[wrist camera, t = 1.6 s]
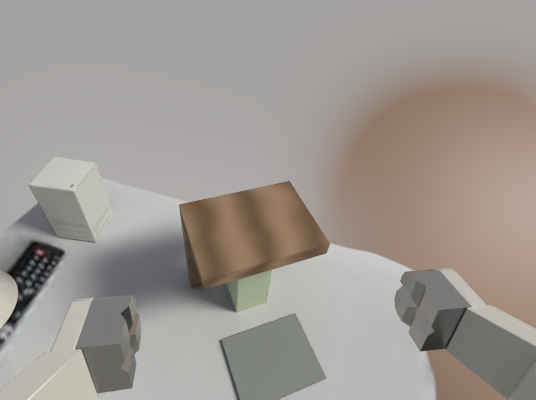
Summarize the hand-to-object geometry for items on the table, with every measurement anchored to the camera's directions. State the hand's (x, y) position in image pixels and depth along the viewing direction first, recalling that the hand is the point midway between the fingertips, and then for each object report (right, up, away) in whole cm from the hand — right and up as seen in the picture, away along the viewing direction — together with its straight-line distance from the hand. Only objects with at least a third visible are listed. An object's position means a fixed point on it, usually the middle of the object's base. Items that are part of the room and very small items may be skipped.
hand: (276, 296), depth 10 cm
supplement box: (-34, -2, +53) cm, 62 cm away
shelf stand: (-4, -12, +45) cm, 47 cm away
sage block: (-4, -12, +45) cm, 47 cm away
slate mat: (0, -20, +38) cm, 43 cm away
